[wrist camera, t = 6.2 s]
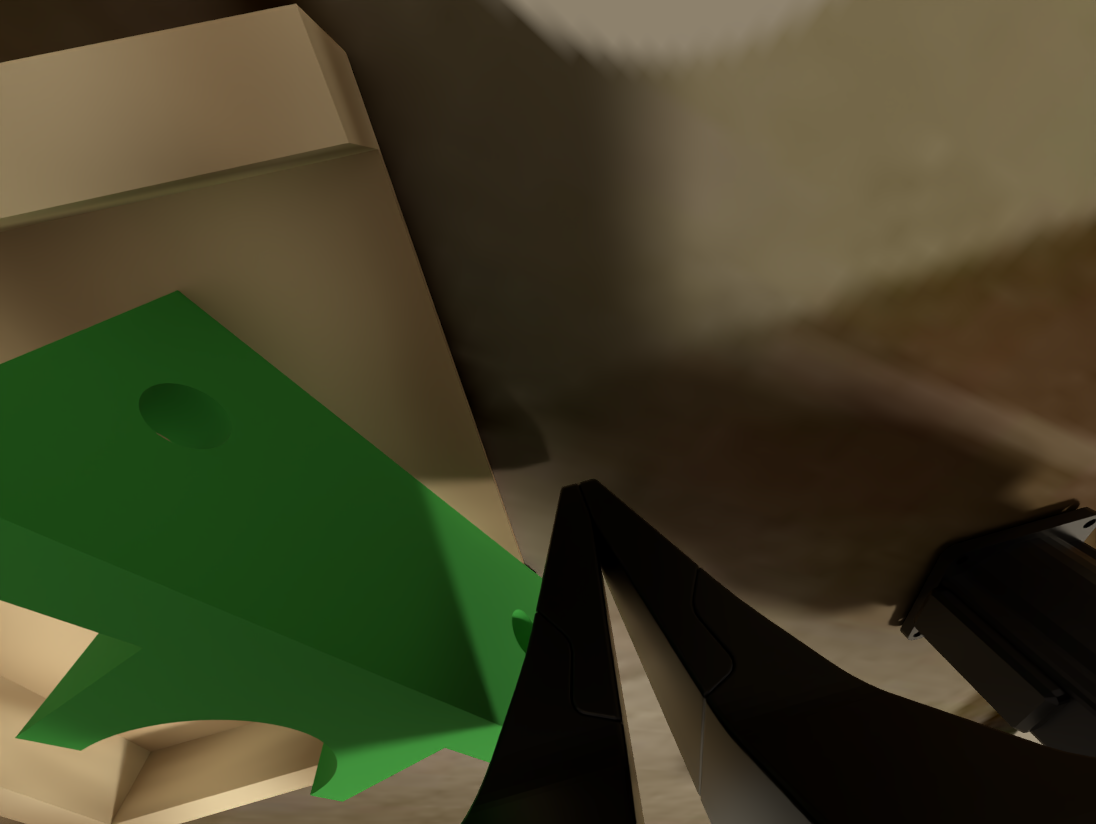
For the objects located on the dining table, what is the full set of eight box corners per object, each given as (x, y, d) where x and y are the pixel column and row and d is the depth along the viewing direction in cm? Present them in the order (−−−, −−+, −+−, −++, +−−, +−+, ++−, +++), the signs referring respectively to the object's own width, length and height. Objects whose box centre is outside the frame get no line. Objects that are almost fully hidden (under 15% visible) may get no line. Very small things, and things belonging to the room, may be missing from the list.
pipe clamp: (50, 408, 8) (-404, 661, 4) (182, 287, 7) (-197, 434, 3) (453, 635, 13) (446, 830, 9) (545, 580, 12) (580, 764, 9)
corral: (346, 52, 6) (296, 4, 4) (554, 650, 15) (565, 711, 13) (-840, 297, 5) (-1492, 361, 3) (144, 766, 14) (101, 846, 13)
